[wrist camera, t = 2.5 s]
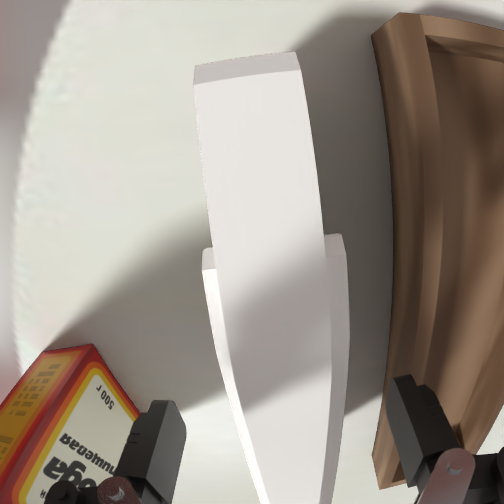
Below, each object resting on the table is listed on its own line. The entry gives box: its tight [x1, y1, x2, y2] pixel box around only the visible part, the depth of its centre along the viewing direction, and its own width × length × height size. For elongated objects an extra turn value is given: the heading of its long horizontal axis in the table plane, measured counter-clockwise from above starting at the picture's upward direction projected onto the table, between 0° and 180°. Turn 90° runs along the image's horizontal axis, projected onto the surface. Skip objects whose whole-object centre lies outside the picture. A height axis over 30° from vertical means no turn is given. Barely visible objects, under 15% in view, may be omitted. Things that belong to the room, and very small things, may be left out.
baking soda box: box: [0, 344, 141, 504], centre depth 17 cm, size 10×6×16 cm
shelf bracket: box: [193, 52, 350, 504], centre depth 17 cm, size 6×25×13 cm, turn 8°
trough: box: [371, 12, 504, 490], centre depth 17 cm, size 10×34×4 cm, turn 9°
